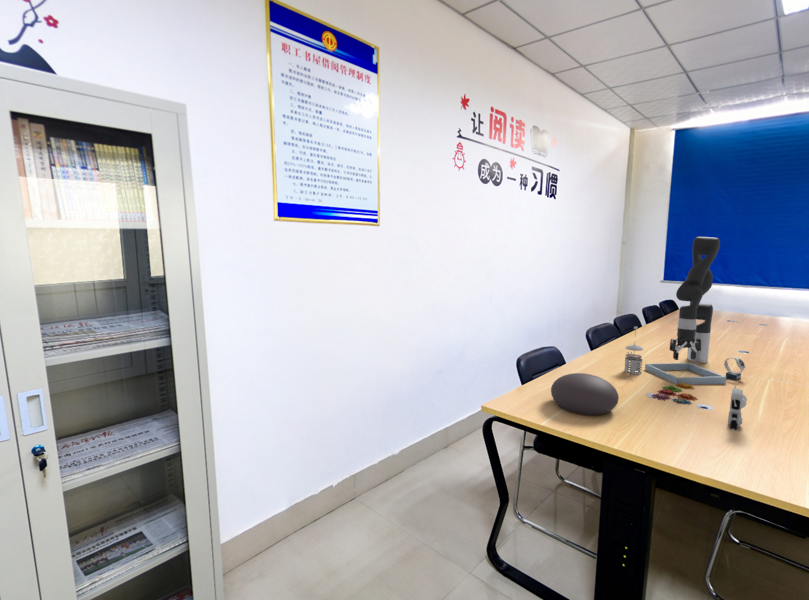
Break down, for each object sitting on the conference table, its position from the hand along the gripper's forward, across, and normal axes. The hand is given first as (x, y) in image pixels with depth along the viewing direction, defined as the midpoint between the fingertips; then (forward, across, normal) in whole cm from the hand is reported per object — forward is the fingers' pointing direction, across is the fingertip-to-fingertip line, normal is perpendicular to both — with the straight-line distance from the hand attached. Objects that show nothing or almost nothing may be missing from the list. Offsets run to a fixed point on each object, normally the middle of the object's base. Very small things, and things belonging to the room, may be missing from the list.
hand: (684, 359), depth 207 cm
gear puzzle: (+10, +19, +24) cm, 33 cm away
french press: (+10, +22, -7) cm, 25 cm away
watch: (+10, -23, +4) cm, 25 cm away
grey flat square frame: (+9, 0, 0) cm, 9 cm away
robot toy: (+9, +23, +58) cm, 63 cm away
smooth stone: (+9, +69, +39) cm, 80 cm away
